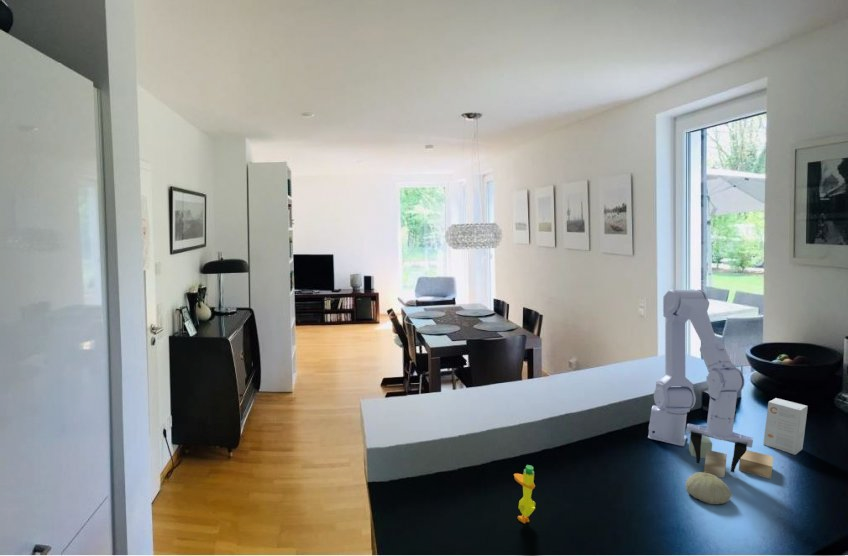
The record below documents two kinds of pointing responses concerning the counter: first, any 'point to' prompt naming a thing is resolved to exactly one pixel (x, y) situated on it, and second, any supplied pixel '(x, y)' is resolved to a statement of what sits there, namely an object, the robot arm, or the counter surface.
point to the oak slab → (756, 464)
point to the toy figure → (526, 493)
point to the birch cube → (715, 463)
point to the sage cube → (705, 446)
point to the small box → (785, 425)
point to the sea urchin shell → (708, 488)
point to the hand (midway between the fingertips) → (715, 466)
